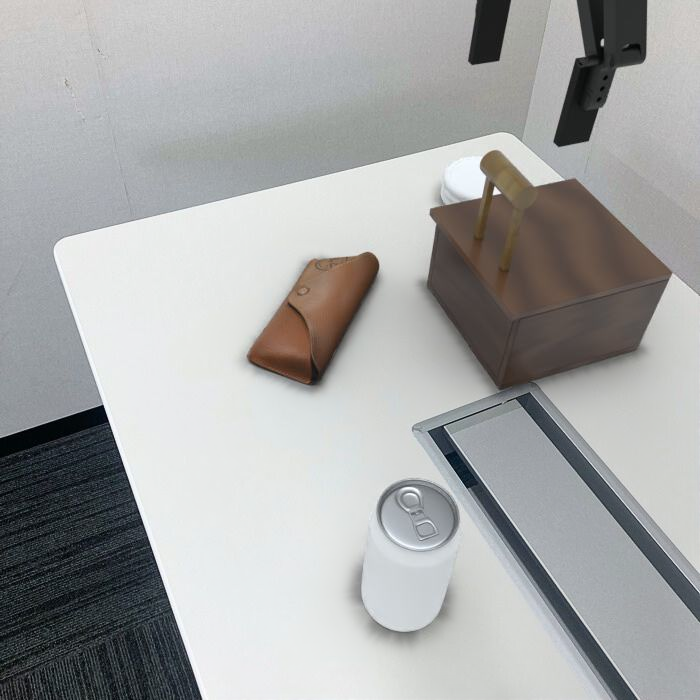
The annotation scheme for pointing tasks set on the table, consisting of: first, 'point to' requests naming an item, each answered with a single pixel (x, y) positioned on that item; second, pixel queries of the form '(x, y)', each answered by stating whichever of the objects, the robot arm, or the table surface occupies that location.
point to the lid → (544, 242)
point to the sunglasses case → (314, 317)
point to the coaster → (463, 181)
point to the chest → (537, 323)
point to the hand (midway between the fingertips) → (524, 99)
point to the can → (410, 554)
